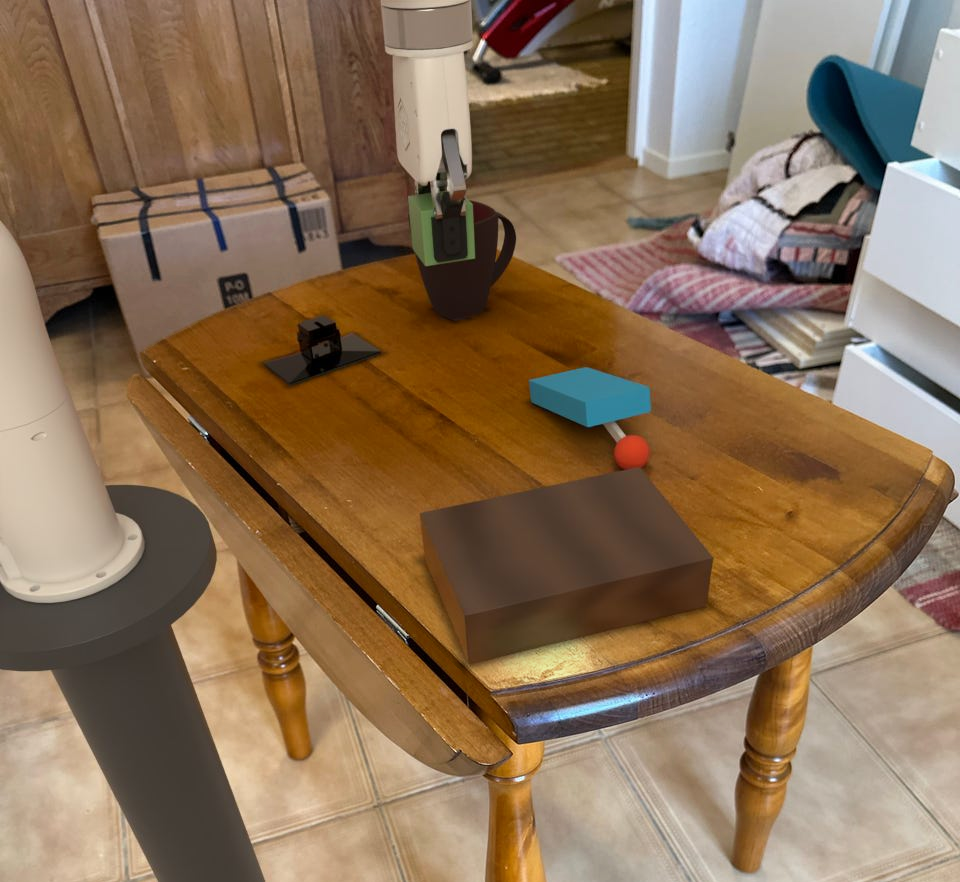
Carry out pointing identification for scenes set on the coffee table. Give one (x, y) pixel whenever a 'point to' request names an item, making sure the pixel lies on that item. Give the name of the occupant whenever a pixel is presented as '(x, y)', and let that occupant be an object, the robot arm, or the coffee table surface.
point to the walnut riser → (562, 563)
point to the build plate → (320, 351)
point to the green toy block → (422, 228)
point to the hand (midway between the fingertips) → (442, 247)
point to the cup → (470, 268)
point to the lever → (597, 406)
